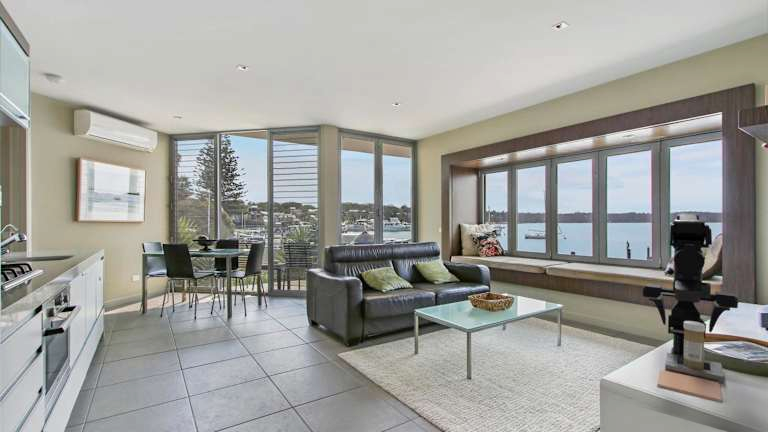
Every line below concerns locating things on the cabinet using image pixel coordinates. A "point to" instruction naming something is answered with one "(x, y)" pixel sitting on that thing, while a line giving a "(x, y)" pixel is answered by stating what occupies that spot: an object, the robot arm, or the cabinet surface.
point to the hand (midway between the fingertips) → (686, 328)
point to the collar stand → (713, 367)
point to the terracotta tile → (690, 385)
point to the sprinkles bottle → (694, 344)
